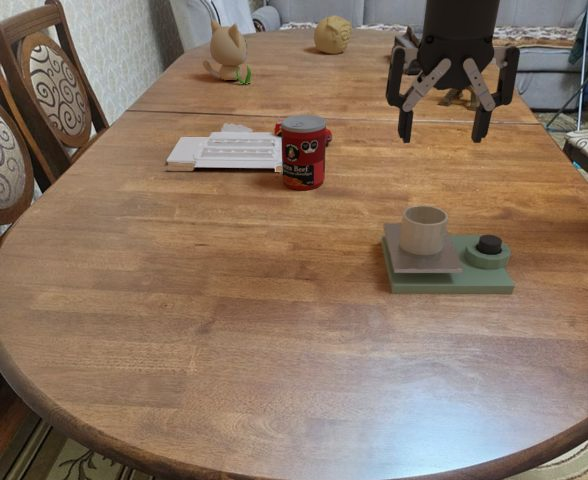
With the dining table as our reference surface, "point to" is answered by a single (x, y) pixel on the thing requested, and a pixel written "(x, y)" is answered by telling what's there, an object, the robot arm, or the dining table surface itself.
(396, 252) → the platform
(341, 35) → the sculpture
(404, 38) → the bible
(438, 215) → the cup
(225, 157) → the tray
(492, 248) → the tare button
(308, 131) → the canned food
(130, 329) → the dining table surface
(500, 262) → the scale
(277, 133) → the race car
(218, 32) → the kitten
